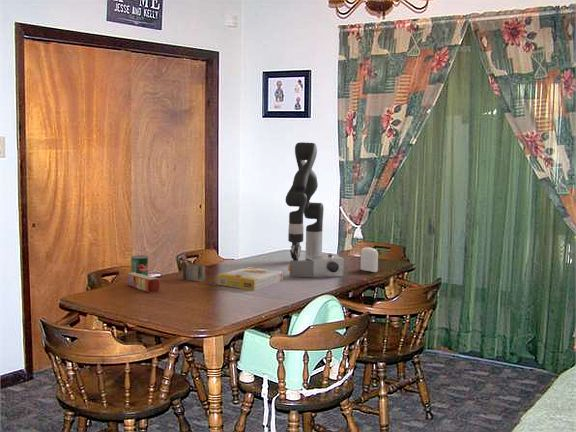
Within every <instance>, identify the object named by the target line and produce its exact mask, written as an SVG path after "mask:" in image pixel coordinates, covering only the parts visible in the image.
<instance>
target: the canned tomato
mask: <svg viewBox="0 0 576 432" xmlns="http://www.w3.org/2000/svg"><path fill="white" fill-rule="evenodd" d="M130 258H131V260H130V263H131V264H130V265H131V266H130V267H131V268H130V269H131V270H130V271H131V272H130V273H132V272H136V273H139V274H143V275H146V276H149V256H148V255H140V254H139V255H138V254H137V255H132V256H131V257H130Z"/></svg>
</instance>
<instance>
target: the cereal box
mask: <svg viewBox="0 0 576 432" xmlns="http://www.w3.org/2000/svg"><path fill="white" fill-rule="evenodd" d="M283 275H284V272H283V271H280V270H276V269H275V270H273V269H266V268H257V267H250V266H248V267H244V268H239V269H236V270H232V271H227V272H223V273H219V274H217V278H216V279H217V280H216V281H217V282H216V283H217V285H218V286H224V287H231V288H236V289H240V290H247V291H248V290H249V291H256V290H259V289H262V288H265V287H267V286H271V285H273V284H276V283H279V282H283V279H284V278H283V277H284V276H283Z"/></svg>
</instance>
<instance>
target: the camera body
mask: <svg viewBox="0 0 576 432" xmlns="http://www.w3.org/2000/svg"><path fill="white" fill-rule="evenodd" d="M344 260H345V258H344V257H341V256H339V255H337V254H334V253H328V254H322V255H311V256H306V261H313V277H312V278H329V277H330V278H331V277H344V267H345V266H344V262H345V261H344Z"/></svg>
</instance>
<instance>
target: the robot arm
mask: <svg viewBox="0 0 576 432" xmlns="http://www.w3.org/2000/svg"><path fill="white" fill-rule="evenodd" d="M317 153H318V148H317V144H316V143H315V142H305V141H303V142H297V143H296V144H295V146H294V155H295V160H296V164H297V168H298V169H297V172H296V173H295V174H294V177H293V181H292V185H291V187H290V188H289V190H288V192H287V194H286V196H285V204H286V205H287V206H288V207H294V208H295V207H298V209H297V210H293V211H290V212H289V213H288V214H289V215H288V223H289V224H288V234H287V237H288V239H287V241H288V242H289V243H291V245H290V250H289V252H290V258H291V259H292V260H293V261H299V258H300V255H301V252H302V251H301V250H302V245H300V244H301V243H303V242H304V218H306V219H308V220H316V221H315V222H313V223H311V224H308V225H306V227H305V254H304V255H305V260H304V261H306V256H311V255H323V228H324V227H323V226H324V224H323V222H324V209H325V208H324V203H322V202H311V199H312V197H313V195H314V194H315V192H317V189H318V186H319V184H318V178H317V174H316V173H315V171H314V170H313V166H314V164H315V161H316V157H317Z"/></svg>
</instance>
